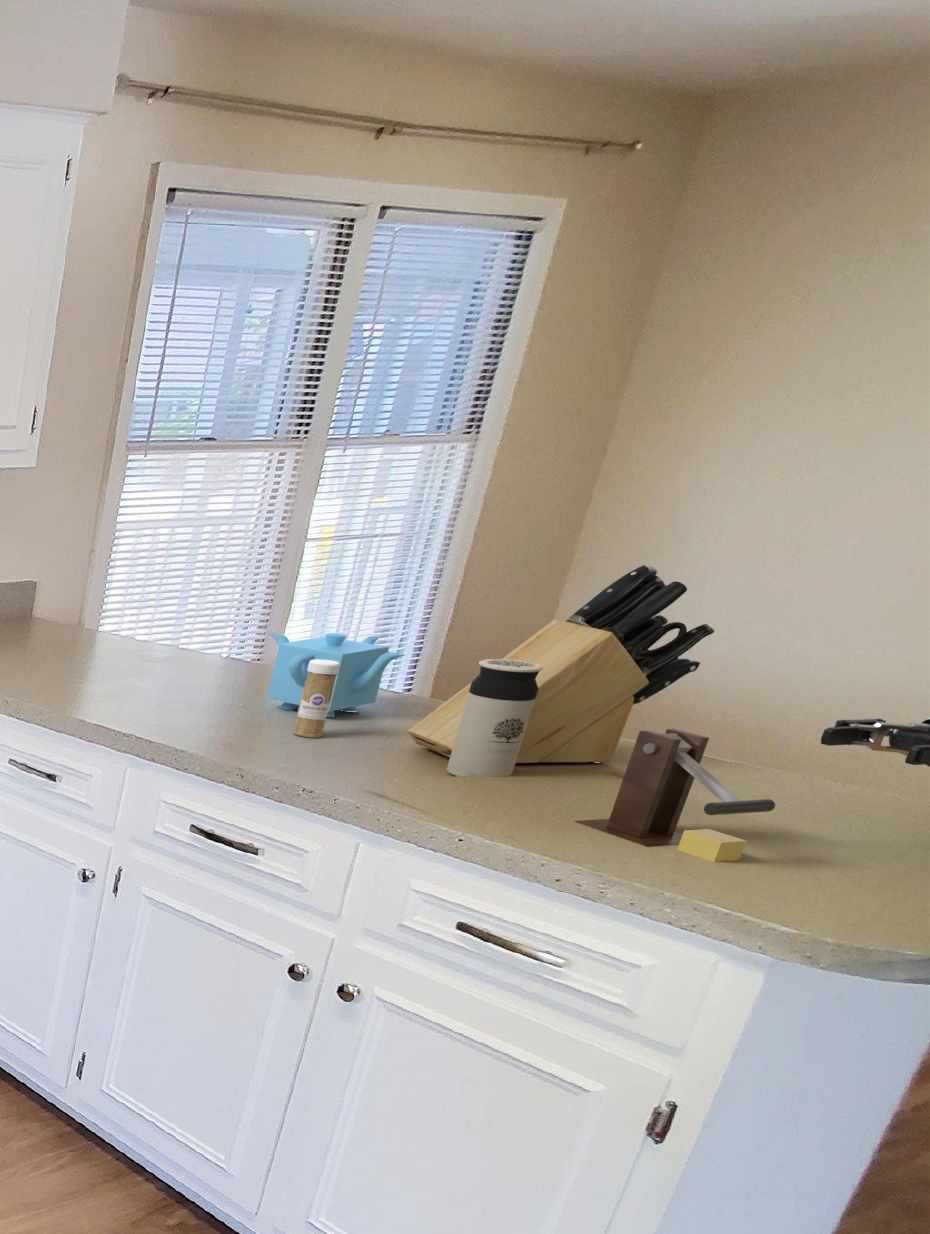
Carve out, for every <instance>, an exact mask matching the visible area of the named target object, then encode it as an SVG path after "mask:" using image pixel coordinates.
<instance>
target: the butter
mask: <svg viewBox="0 0 930 1234" xmlns="http://www.w3.org/2000/svg"><path fill="white" fill-rule="evenodd" d="M682 834H683V835H682V838H681V840H680V843H679V845H677V851H680V852H683V853H686V854H689V855H692V856H695V857H698V858H701V859H704V860H706V861H710V862H713V863H719V862H721V863H722V862H723V863H724V862H736V861H740V860H741V858H742V854H743V852H744V850H745V847H746V845H747V842H748V840H745V839H742V838H739V837H737V836H733V835H729V834H726V833H723V832H720V831H717V830H714V829H710V828H703V829H702V828H701V829H688V830H687V829H686V830H684V831H683V833H682Z"/></svg>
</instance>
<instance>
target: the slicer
mask: <svg viewBox="0 0 930 1234" xmlns="http://www.w3.org/2000/svg"><path fill="white" fill-rule="evenodd" d="M670 733H676V734H677V735H678V736H679V737H681V738H682V739H683V740H684V741H685V742H686V743H688V744H689V745H690V746H691V747H692V748H691V749H690V750H689V751H688V752H687V754H688V755H689V756H690V757H691V758H692V759H694V760H695V761H696V762H697V763H698V764H699V765H701V762H702V759H703V756H704V753H705V751H706V749H707V745H708V743H709V741H710V737H708V736H705V735H701V734H696V733H693V732H689V731H684V730H680V729H675V728H667V729H666V730H665V733H664V734H670ZM662 734H663V733H658V732H654V731H650V730H639V732H638V735H637V738H636V741H635V744H634V746H633V749H632V752H631V755H630V758H629V761H628V764H627V767H626V770H625V773H624V775H623V778H622V780H621V783H620V786H619V789H618V793H617V795H616V798H615V801H614V804H613V807H612V810H611V813H610V816H609V818H601V819H585V820H584V819H583V820H573V822H574V823H577V824H579V825H583V826H585V827H588V828H591V829H594V830H597V831H599V832H603V833H606V834H607V835H608V834H609V835H612V836H614V837H617V838H620V839H623V840H626V841H629V842H631V843H635V844H636V845H639V846H643V847H645V848H651V847H652V848H654V847H668V846H679V843H680V840H681V838H682V835H683V833H681V832H678V831H676V829H677V827H678V824H679V821H680V818H681V815H682V813H683V811H684V808H685V804H686V802H687V799H688V798H689V797H688V796H689V793H690V791H691V788H692V786H693V784H694V780H695V779H696V778H695V777H693V776H692V775H691V774H690V773H689V772H688V771H686V770H685V769H684V768H683V767H682V766H681V765H679V764H678V763H677V762H676V761H674V758H675V756H676V753H677V750H678V747H679V744H680V742H681V739H678V738H674V737H670V736H666V735H662Z"/></svg>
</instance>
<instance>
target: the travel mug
mask: <svg viewBox="0 0 930 1234" xmlns="http://www.w3.org/2000/svg"><path fill="white" fill-rule="evenodd" d="M478 664H479V668H480V669H479V674H478V675H477V676H476V677H475V678H474V679H473V680H471V682H470V683H471V686H470V689H469V693H468V696H467V700H466V703H465V707H464V710H463V714H462V717H461V721H460V724H459V728H458V731H457V735H456V738H455V742H454V745H453V749H452V752H451V756H450V758H449V760H448V763H447V767H446V771H447V772H448V773H449V774H450V775H452V776H454V777H470V776H484V777H493V778H494V777H498V778H499V777H500V778H501V777H510V776H511V775H512V774H513V772H514V769H515V766H516V764H517V763H516V760H517V756H518V753H519V750H520V747H521V743H522V740H523V737H524V734H525V731H526V727H527V724H528V721H529V718H530V714H531V711H532V708H533V705H534V701H535V698H536V695H537V692H538V686H537V683H536V680H535V679H536V677H537V675H538V673H539V671H541V670H542V669H543V668H542V666H540V665H538V664H534V663H530V662H524V661H517V660H505V659H503V658H489V659H482V660H479V662H478Z"/></svg>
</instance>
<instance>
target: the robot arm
mask: <svg viewBox="0 0 930 1234" xmlns="http://www.w3.org/2000/svg"><path fill="white" fill-rule="evenodd" d="M884 737H888V745H884V744H882V742H883V740H884ZM820 744H821V745H823V746H829V747H830V746H831V747H833V746H834V747H835V746H862V747H867V749H870V750H871V751H876V752H886V753H899V754H901V755H903V756H905V757H906V758H905V759H904V762H905V764H908V765H912V766H922V765H924V766H925V765H926V766H927V767H929V768H930V717H928V718H926V719H925V720H923V721H922V722H921V723H920V722H911V723H895V722H887V720H885V719H883V718H867V719H866V718H865V719H864V718H863V719H862V718H861V719H860V718H859V719H837V720H836V722H835V724H834V726H832V727H827V728H825V729H824V730H823V732H822V735H821V737H820Z"/></svg>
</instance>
